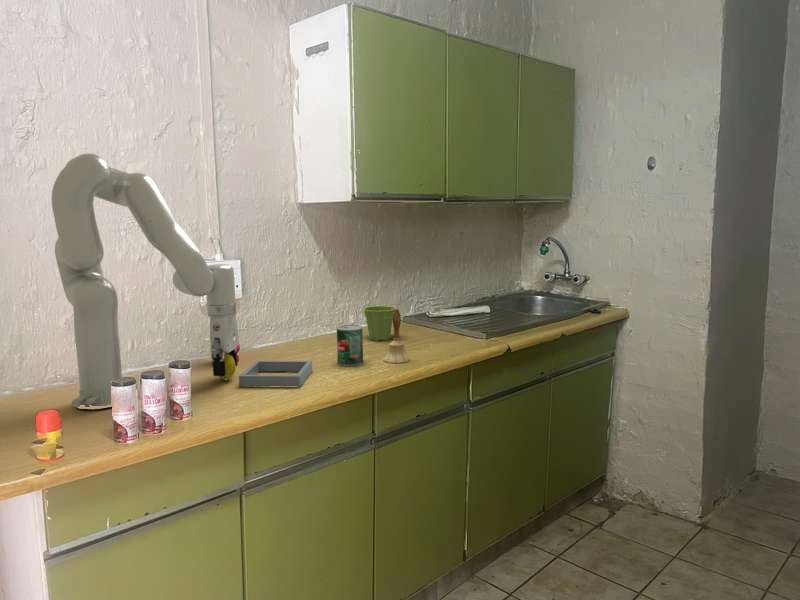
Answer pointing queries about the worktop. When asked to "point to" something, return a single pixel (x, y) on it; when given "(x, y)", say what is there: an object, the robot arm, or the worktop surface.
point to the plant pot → (379, 321)
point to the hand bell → (396, 343)
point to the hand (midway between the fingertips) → (225, 370)
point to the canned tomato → (350, 345)
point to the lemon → (228, 366)
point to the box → (276, 380)
